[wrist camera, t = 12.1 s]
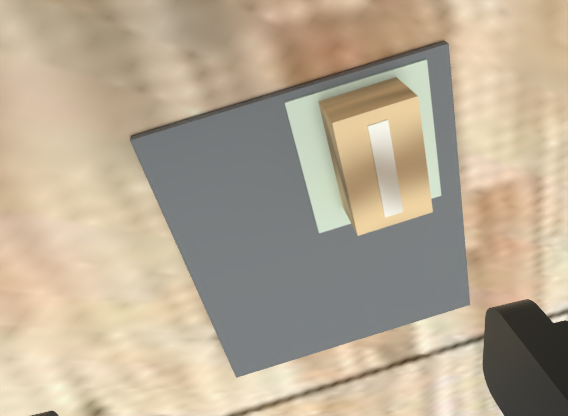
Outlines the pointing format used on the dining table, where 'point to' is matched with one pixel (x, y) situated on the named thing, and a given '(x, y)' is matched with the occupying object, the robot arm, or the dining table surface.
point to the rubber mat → (306, 219)
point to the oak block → (378, 154)
